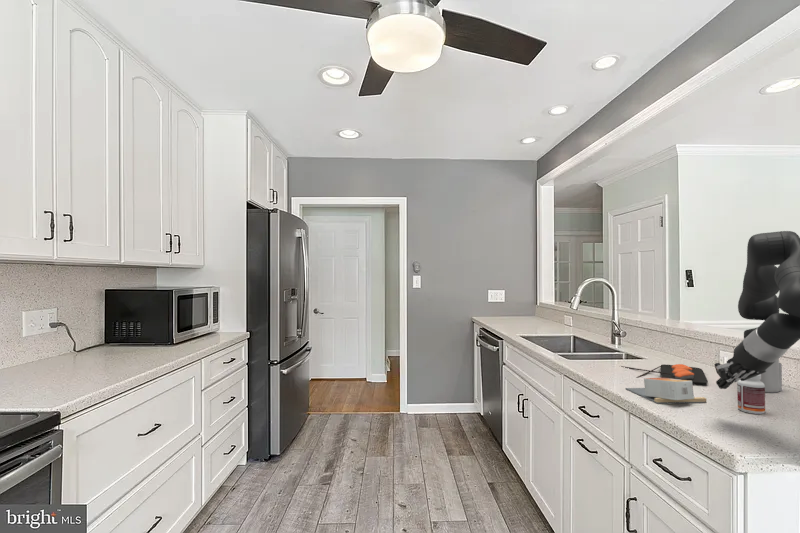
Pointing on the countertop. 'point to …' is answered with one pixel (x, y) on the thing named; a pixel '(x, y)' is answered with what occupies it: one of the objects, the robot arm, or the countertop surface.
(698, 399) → the board
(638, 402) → the countertop surface
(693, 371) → the sushi plate
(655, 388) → the small box
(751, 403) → the pill bottle
